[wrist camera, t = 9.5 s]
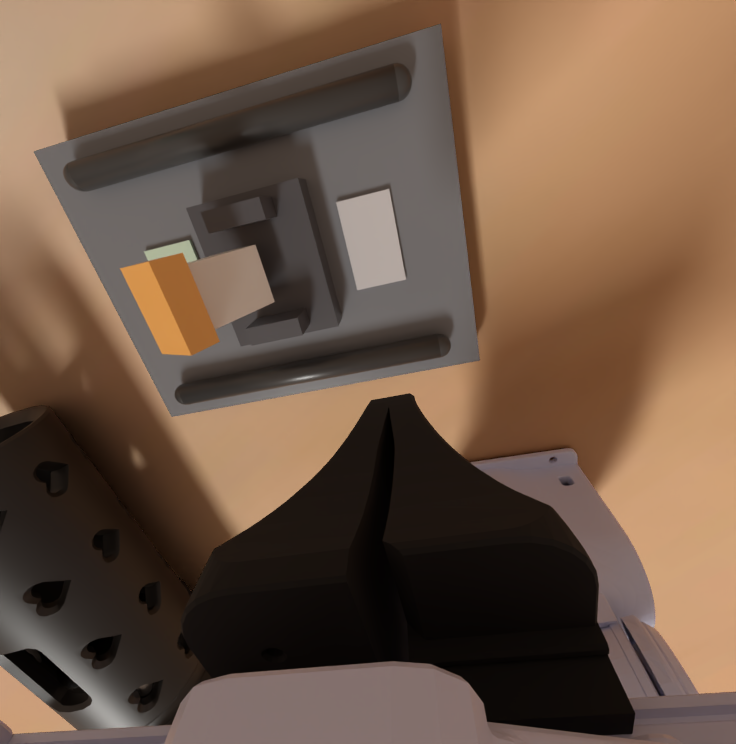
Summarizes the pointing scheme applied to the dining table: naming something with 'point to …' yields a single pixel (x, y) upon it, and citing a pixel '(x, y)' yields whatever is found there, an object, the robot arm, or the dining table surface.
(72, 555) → the muzzle brake
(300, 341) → the breaker panel
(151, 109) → the dining table surface
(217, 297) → the breaker lever
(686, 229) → the dining table surface
